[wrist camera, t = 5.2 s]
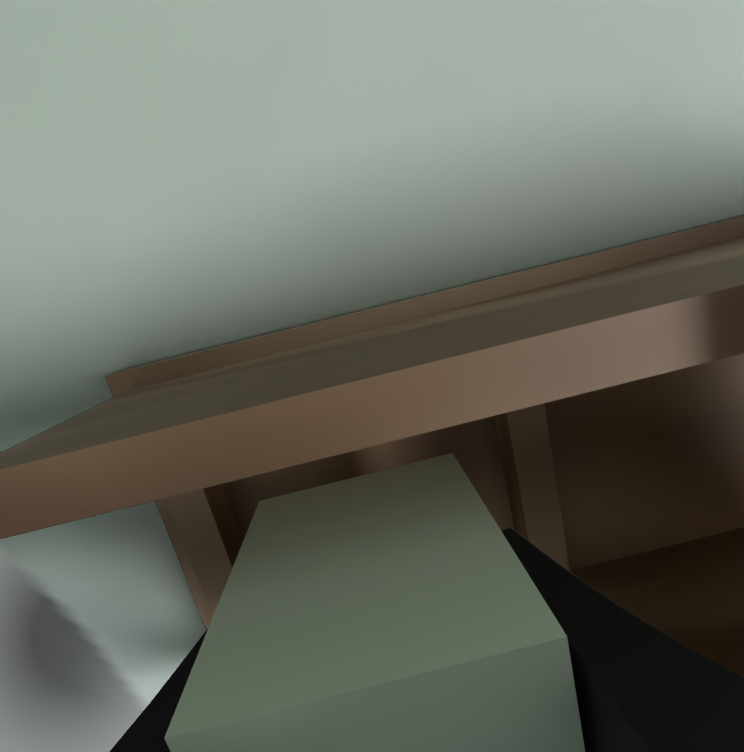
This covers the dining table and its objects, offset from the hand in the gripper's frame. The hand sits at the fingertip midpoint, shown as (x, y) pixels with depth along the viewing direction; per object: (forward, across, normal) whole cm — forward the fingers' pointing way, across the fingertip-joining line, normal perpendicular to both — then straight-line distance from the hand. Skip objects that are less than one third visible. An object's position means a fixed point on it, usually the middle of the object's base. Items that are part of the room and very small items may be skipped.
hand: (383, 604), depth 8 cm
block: (+2, 0, 0) cm, 2 cm away
